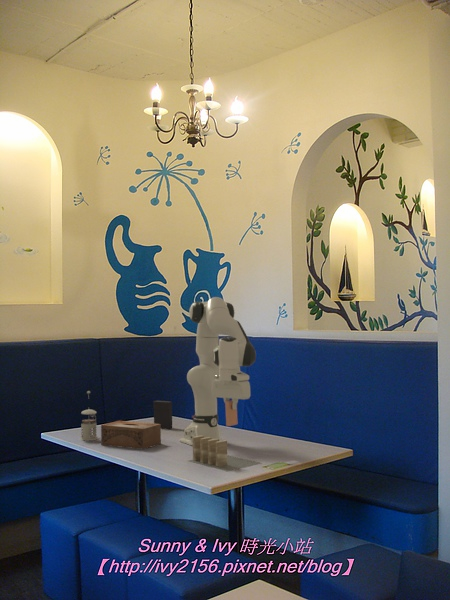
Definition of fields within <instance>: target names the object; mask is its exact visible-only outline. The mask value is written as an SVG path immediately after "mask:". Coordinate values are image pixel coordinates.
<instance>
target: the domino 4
mask: <svg viewBox="0 0 450 600" xmlns="http://www.w3.org/2000/svg"><path fill="white" fill-rule="evenodd" d="M227 455H228V440H225V439H224V440H221V441H218V442H216V466H217V467H220V466H224V465H228V464H227Z"/></svg>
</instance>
